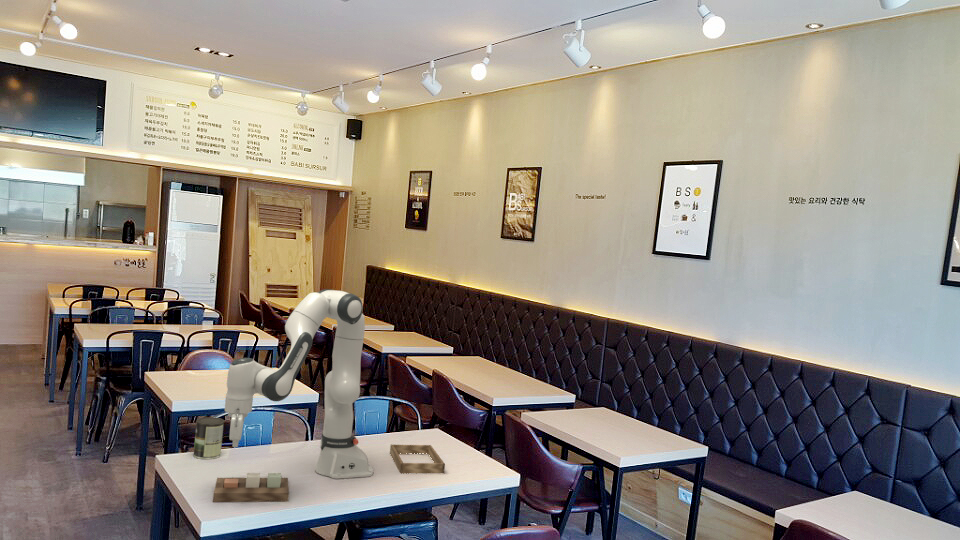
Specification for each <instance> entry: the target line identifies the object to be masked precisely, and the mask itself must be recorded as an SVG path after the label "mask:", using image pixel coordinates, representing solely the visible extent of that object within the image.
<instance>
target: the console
mask: <svg viewBox="0 0 960 540" xmlns="http://www.w3.org/2000/svg"><path fill="white" fill-rule="evenodd" d="M267 478H268V477H260V482H259V488H246V477H216V481H215V486H214V488H213V489H214V491H213V495H212V503H248V502H249V503H257V502H258V503H259V502H261V503H262V502H263V503H264V502H266V503H268V502H269V503H270V502H271V503H272V502H273V503H274V502H275V503H276V502H277V503H279V502H282V503H283V502H285V503H286V502H289V495H290V492H289V491H290V489H289V478H288V477H281V484H280V488H267ZM225 479H238V488H224V481H225Z"/></svg>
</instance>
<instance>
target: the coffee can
mask: <svg viewBox="0 0 960 540" xmlns="http://www.w3.org/2000/svg"><path fill="white" fill-rule="evenodd" d="M195 422H196V426H195V433H194V434H195V436H194V446H193V455H192V456H193V457H194V458H196V459H199V460H214V459H217V458H220V457H221V456H222V454H221V453H222V443H223V433H224V432H223V431H224V423H225V420H224V419H223V418H220V417H215V416H211V417H210V416H208V417H207V416H206V417H205V416H204V417H199V418H197V419H196V421H195Z"/></svg>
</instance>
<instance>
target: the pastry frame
mask: <svg viewBox="0 0 960 540" xmlns="http://www.w3.org/2000/svg"><path fill="white" fill-rule="evenodd" d="M400 453H401V454H400ZM406 453H407V454H406ZM408 453H412V454H414V453H415V454H417V453H418V454H419V453H421V454H422V453H424V454H426V453H427V454H429V455H430V457H431V458H432V459H431V458H430V457H429V458H430V459H431V461H432V460H433V461H434V462H433V461H432V462H403V460H402V458H401V456H400V455H409V454H408ZM390 454H391V455H390ZM389 455H390V457H391V456H392V457H391V458H393V459H392V460H394V461H393V462H395V463H394V464H395V467H396V468H397V470H398V473H401V474H400V475H402V473H403V474H404V473H406V474H407V473H408V474H409V473H416V475H417V473H444V474H445V467H446V464H445V462H444V461H443V459H442V458H441V457H440V454H438V453H437V451H436V450H435V449H434V447H433V446H432V445H431V444H390V447H389ZM429 455H428V456H429ZM408 474H407V475H408Z"/></svg>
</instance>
